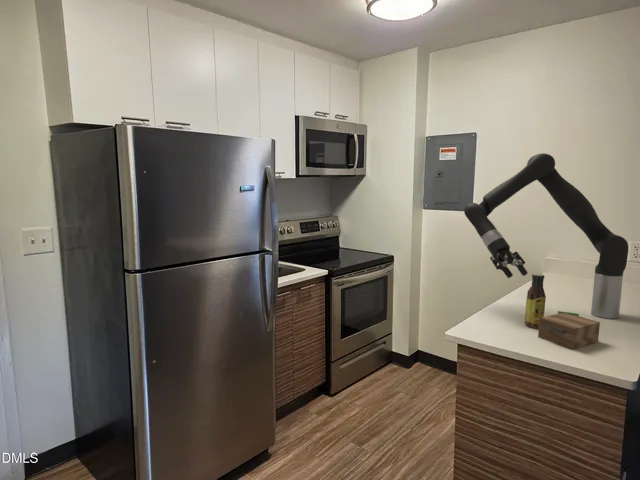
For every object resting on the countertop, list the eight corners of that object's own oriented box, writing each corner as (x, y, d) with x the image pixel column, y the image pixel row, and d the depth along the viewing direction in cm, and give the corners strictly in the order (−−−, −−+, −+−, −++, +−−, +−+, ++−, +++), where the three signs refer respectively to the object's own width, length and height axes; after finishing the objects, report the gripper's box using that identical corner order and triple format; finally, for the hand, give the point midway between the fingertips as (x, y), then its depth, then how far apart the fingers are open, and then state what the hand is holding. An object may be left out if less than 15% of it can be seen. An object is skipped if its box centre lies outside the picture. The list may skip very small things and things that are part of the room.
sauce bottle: (536, 330, 146) (540, 277, 143) (520, 324, 152) (524, 273, 149) (547, 327, 149) (551, 275, 146) (531, 322, 155) (535, 272, 152)
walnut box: (562, 330, 146) (564, 312, 145) (598, 342, 135) (599, 322, 134) (536, 337, 139) (538, 318, 138) (571, 350, 128) (573, 329, 127)
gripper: (488, 238, 158) (512, 272, 149) (513, 236, 164) (537, 268, 155) (477, 249, 163) (499, 283, 155) (501, 247, 170) (523, 279, 161)
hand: (518, 275), depth 155 cm, fingers open, 8 cm apart
